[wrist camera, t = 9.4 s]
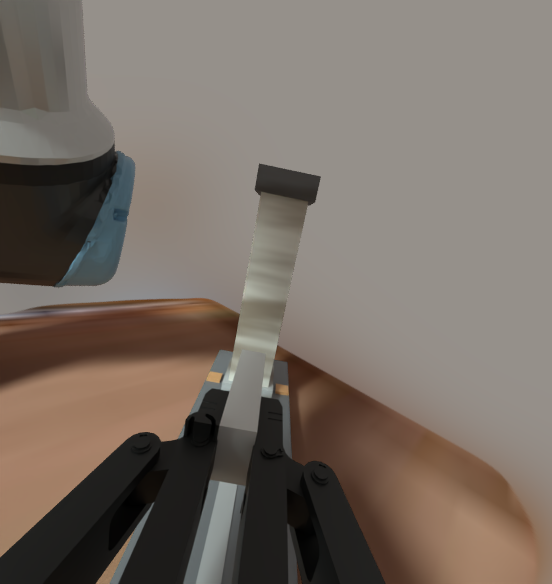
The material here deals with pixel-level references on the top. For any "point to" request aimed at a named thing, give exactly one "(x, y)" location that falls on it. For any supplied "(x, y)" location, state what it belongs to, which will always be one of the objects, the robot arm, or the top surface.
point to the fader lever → (271, 264)
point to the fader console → (223, 500)
